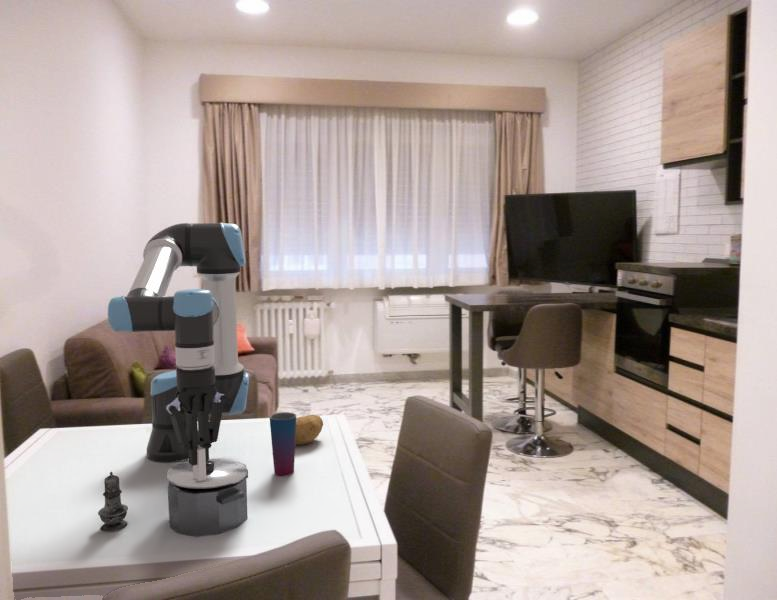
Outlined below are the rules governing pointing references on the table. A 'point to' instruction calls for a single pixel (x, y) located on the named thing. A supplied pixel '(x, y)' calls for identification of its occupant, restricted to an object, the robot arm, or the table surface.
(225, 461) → the lid
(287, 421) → the cup
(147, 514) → the table surface
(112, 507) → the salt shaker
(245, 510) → the pot
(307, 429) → the potato
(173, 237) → the robot arm
